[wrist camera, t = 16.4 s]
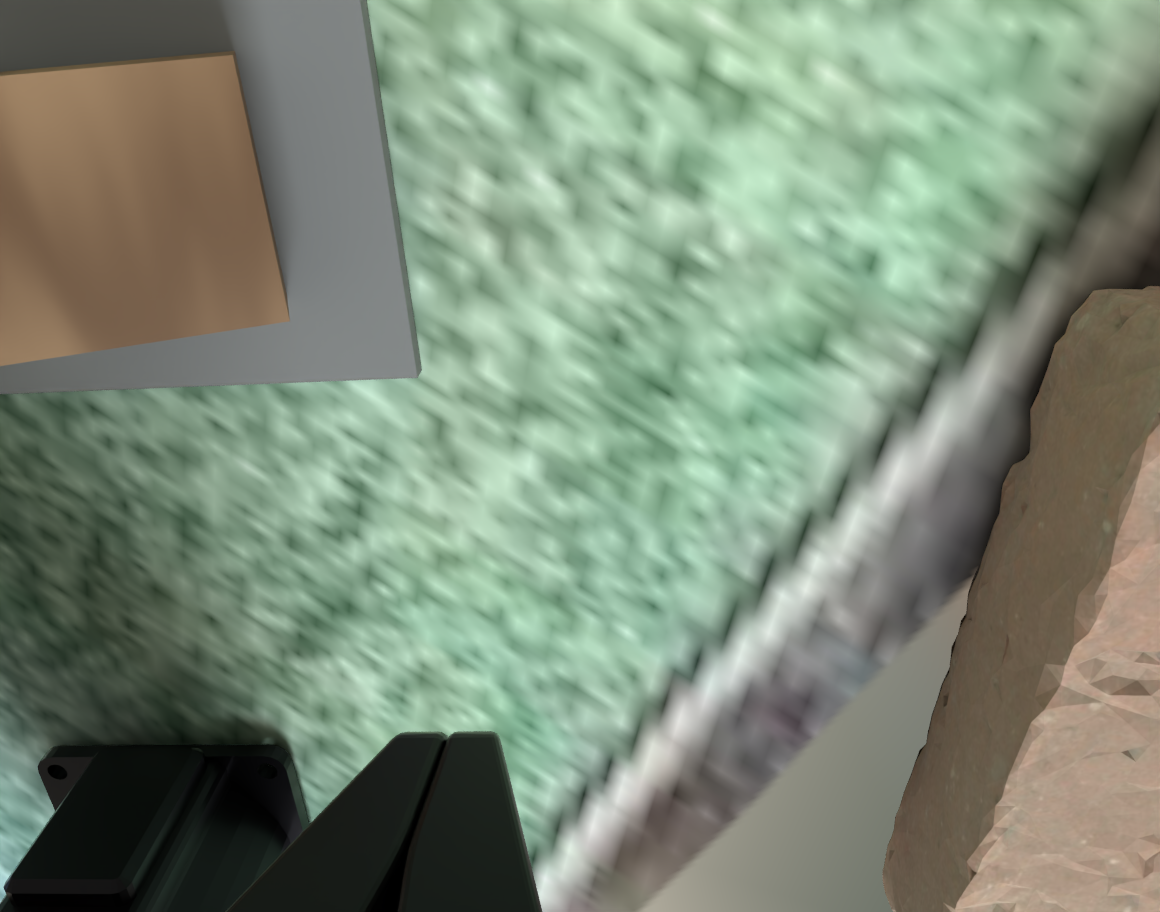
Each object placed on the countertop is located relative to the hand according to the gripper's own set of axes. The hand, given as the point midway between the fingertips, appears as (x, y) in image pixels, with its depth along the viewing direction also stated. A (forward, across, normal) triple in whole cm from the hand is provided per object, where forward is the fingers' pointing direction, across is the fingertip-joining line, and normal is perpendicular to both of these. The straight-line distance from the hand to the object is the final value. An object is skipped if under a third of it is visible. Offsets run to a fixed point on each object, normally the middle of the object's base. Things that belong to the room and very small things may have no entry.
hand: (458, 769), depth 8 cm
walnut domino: (+11, +5, -3) cm, 12 cm away
